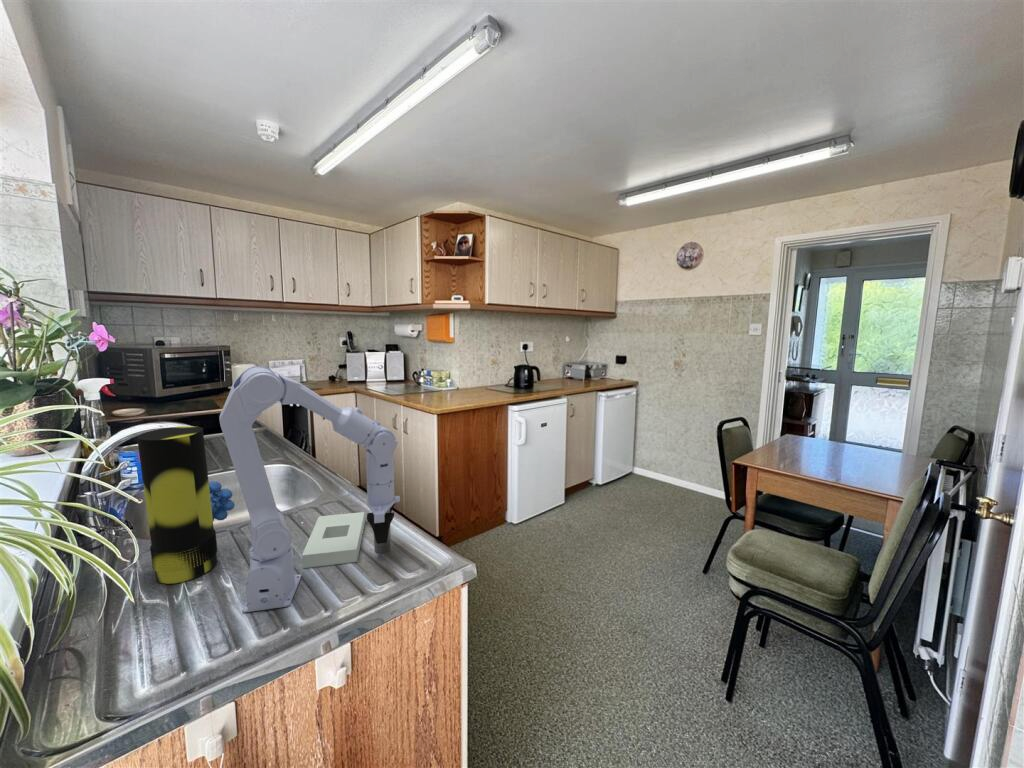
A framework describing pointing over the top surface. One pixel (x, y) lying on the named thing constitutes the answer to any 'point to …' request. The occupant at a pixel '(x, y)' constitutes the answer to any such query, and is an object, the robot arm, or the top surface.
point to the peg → (383, 544)
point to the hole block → (334, 540)
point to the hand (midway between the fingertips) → (382, 537)
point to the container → (178, 503)
